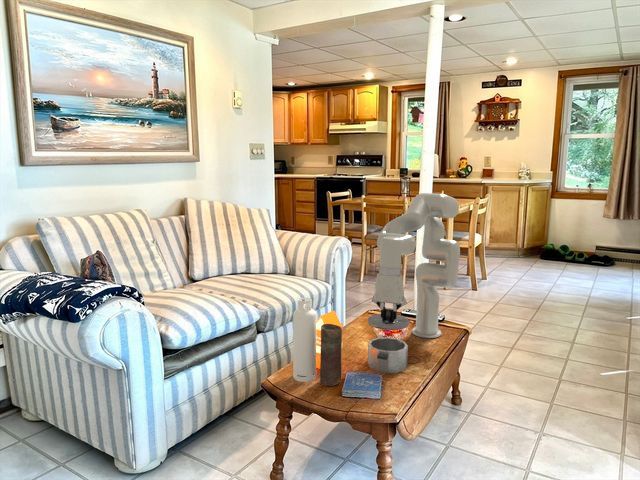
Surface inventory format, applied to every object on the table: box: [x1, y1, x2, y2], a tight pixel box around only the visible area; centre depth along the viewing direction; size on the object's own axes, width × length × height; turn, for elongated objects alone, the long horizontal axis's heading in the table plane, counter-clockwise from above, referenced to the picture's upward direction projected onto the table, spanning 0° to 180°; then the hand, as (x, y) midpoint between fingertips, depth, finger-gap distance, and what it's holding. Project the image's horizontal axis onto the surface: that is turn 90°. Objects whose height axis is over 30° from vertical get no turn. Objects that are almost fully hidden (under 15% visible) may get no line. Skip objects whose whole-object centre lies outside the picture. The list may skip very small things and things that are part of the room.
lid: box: [367, 307, 411, 331], centre depth 173 cm, size 15×15×5 cm
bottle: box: [292, 297, 317, 383], centre depth 164 cm, size 8×8×28 cm
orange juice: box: [316, 310, 343, 370], centre depth 175 cm, size 8×9×20 cm
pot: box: [367, 336, 409, 374], centre depth 176 cm, size 19×14×8 cm
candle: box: [319, 324, 343, 386], centre depth 161 cm, size 8×7×20 cm
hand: (388, 319), depth 174 cm, fingers closed on lid, 2 cm apart
